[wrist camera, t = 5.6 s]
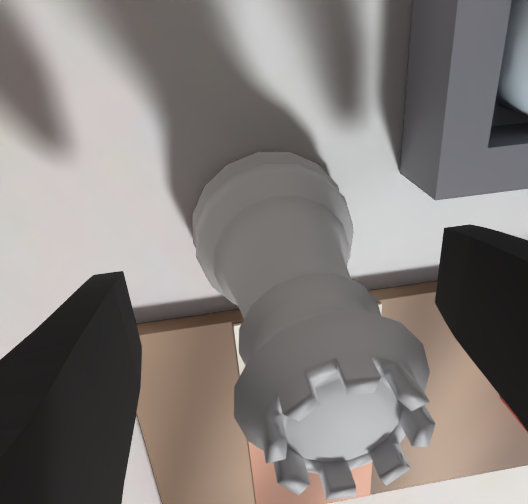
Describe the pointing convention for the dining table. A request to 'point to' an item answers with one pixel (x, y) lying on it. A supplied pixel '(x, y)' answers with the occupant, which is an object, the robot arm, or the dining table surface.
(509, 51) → the dome button
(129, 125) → the dining table surface
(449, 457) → the game board
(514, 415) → the red die
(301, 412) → the rook chess piece
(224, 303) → the dining table surface
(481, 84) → the dome housing
